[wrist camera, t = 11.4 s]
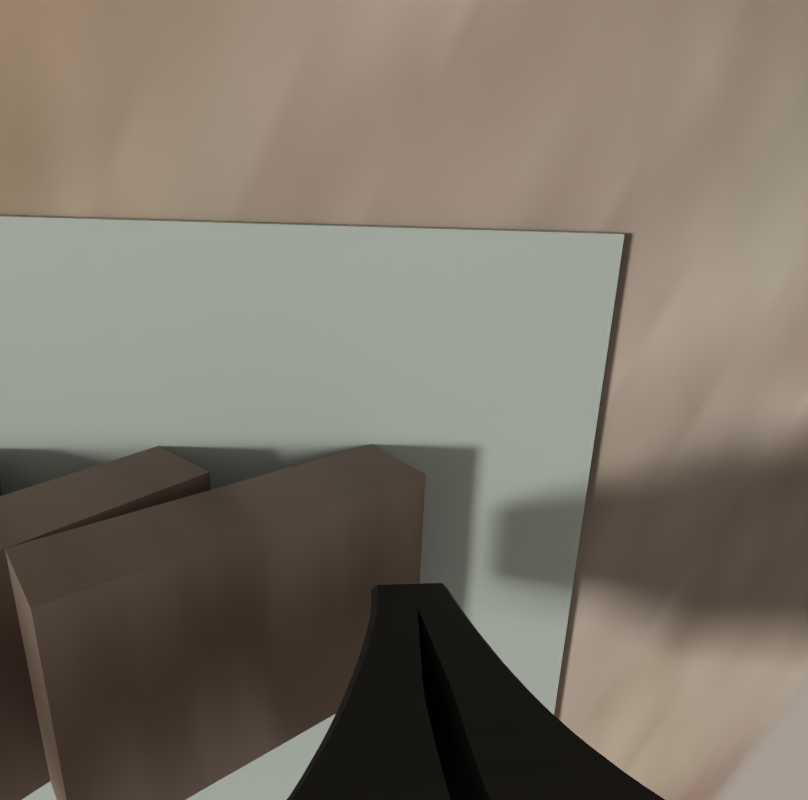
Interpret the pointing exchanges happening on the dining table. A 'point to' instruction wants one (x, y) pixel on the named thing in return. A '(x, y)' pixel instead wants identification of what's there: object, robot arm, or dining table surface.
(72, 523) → the tile
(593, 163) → the dining table surface
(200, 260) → the mat
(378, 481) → the tile
